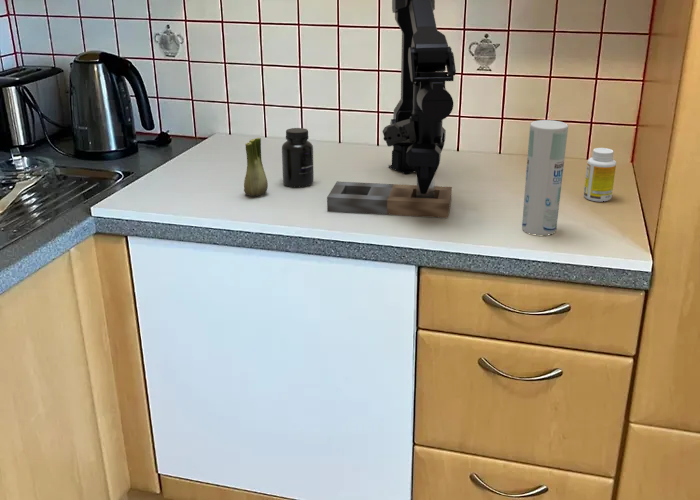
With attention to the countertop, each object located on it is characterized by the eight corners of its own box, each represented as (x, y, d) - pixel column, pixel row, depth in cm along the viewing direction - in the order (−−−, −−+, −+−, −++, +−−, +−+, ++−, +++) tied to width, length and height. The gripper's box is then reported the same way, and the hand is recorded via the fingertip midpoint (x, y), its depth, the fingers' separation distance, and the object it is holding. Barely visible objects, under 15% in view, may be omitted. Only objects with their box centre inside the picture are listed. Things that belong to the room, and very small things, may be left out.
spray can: (550, 239, 137) (561, 130, 129) (515, 232, 140) (524, 125, 132) (561, 227, 142) (573, 122, 134) (528, 221, 145) (537, 118, 137)
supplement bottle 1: (309, 189, 163) (307, 135, 159) (279, 187, 165) (276, 133, 160) (317, 179, 170) (315, 126, 165) (287, 177, 171) (285, 125, 166)
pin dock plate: (451, 200, 156) (451, 186, 155) (448, 218, 147) (448, 203, 145) (337, 194, 160) (336, 181, 159) (327, 211, 151) (327, 197, 150)
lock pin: (426, 202, 155) (427, 155, 151) (440, 208, 152) (442, 160, 148) (409, 207, 153) (410, 159, 149) (423, 213, 149) (425, 164, 145)
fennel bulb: (260, 188, 164) (257, 134, 159) (274, 193, 161) (271, 138, 156) (238, 195, 160) (234, 139, 156) (253, 200, 157) (249, 144, 152)
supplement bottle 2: (617, 200, 155) (624, 151, 151) (596, 204, 153) (602, 155, 149) (598, 192, 160) (604, 145, 156) (577, 196, 158) (583, 148, 154)
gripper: (392, 96, 154) (391, 170, 160) (379, 118, 137) (378, 199, 143) (447, 98, 152) (444, 172, 158) (440, 120, 135) (437, 202, 141)
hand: (425, 185), depth 150 cm, fingers open, 9 cm apart
